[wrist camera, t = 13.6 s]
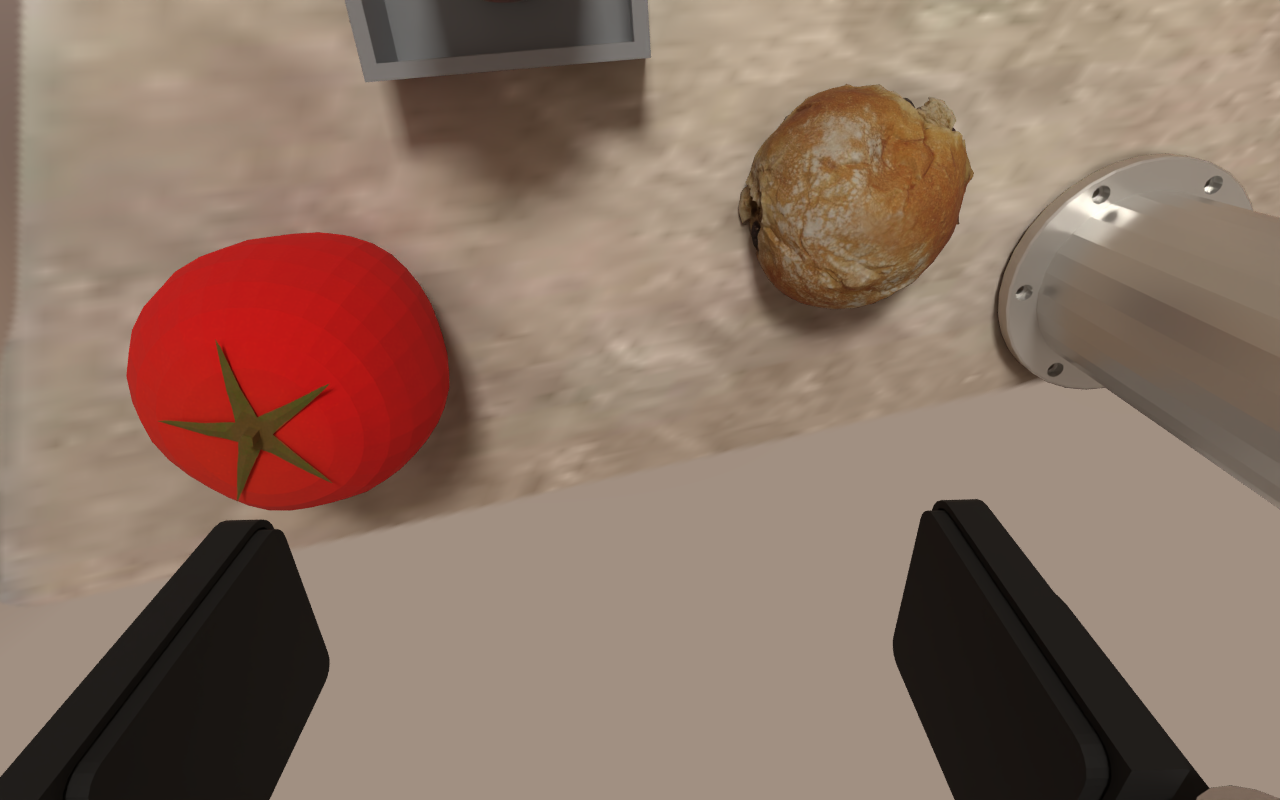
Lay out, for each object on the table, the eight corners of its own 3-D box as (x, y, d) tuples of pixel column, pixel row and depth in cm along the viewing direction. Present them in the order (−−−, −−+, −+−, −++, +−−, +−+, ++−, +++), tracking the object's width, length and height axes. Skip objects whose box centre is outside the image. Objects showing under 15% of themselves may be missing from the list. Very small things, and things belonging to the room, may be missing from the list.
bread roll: (737, 110, 34) (690, 159, 28) (955, 32, 29) (954, 72, 23) (788, 280, 38) (757, 353, 33) (984, 240, 33) (989, 318, 27)
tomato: (504, 267, 33) (453, 379, 22) (431, 441, 38) (360, 604, 27) (252, 154, 30) (50, 219, 19) (208, 359, 35) (26, 505, 24)
